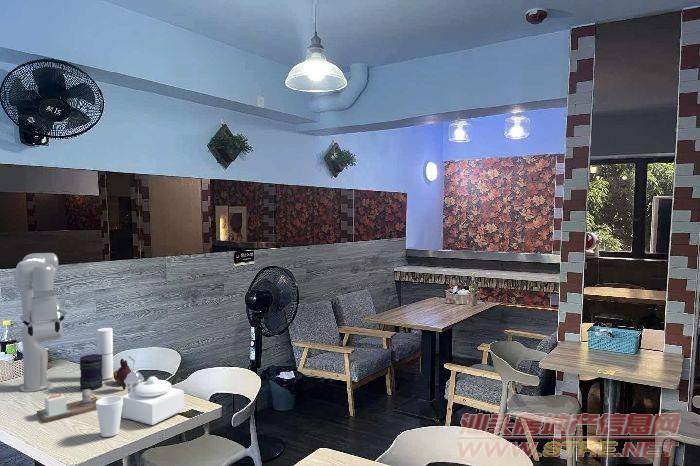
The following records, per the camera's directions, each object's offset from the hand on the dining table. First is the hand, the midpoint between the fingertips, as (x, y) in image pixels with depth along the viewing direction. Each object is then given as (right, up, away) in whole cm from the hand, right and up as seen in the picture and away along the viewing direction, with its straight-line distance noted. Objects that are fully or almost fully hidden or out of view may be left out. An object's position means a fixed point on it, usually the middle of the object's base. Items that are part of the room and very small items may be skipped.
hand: (44, 333), depth 209 cm
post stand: (+12, -33, 0) cm, 35 cm away
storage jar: (+5, -32, +28) cm, 43 cm away
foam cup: (+39, -35, -21) cm, 56 cm away
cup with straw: (+34, -33, +11) cm, 49 cm away
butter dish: (+48, -34, -2) cm, 59 cm away
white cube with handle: (+8, -32, -5) cm, 33 cm away
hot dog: (+17, -32, +35) cm, 51 cm away
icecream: (+23, -33, +25) cm, 47 cm away
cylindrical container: (+5, -32, +43) cm, 54 cm away
